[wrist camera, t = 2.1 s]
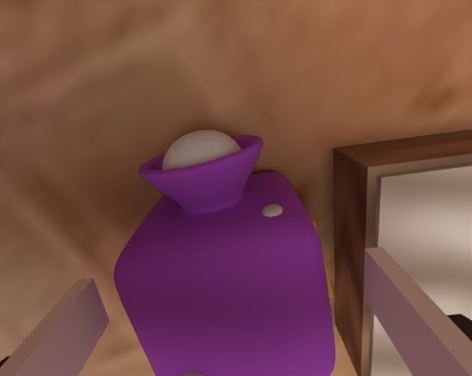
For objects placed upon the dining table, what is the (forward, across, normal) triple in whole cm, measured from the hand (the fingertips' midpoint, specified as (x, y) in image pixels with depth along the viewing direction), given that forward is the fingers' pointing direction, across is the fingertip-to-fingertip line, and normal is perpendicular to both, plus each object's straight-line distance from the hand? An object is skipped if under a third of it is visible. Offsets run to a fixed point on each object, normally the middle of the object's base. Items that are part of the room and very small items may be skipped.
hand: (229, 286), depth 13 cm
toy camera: (+8, 0, 0) cm, 8 cm away
